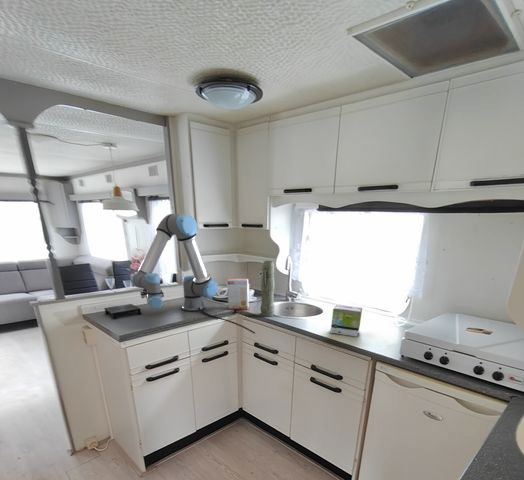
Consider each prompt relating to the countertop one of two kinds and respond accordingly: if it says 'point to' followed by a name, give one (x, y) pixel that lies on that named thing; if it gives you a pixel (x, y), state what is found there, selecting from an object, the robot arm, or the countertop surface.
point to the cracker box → (238, 294)
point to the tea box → (346, 320)
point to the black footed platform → (122, 309)
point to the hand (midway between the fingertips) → (150, 290)
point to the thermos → (267, 289)
